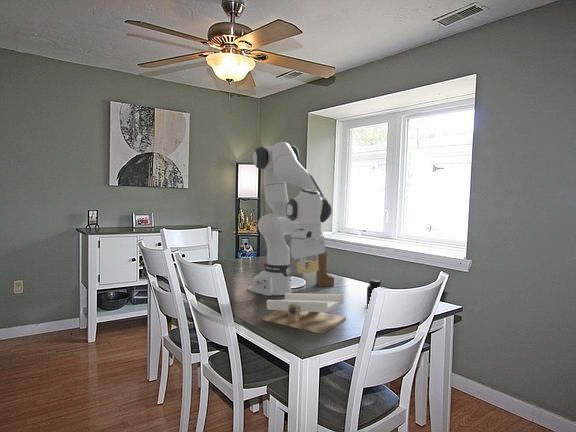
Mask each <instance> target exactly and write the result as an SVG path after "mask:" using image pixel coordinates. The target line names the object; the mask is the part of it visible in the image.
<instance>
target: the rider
mask: <svg viewBox="0 0 576 432" xmlns="http://www.w3.org/2000/svg"><path fill="white" fill-rule="evenodd" d="M305 263H306V264H307V269H301V264H300V261H298V262H296V269H297V274H306V273H307V274H308V273H314V272H315V273H316V272H317V271H318V270H319V265H318V260H312V259H310V260H309V259H308V260H307V259H306V260H305Z"/></svg>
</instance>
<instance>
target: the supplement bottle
mask: <svg viewBox="0 0 576 432" xmlns="http://www.w3.org/2000/svg"><path fill="white" fill-rule="evenodd" d="M381 282H382V281H381V280H380V279H377V278H376V279H375V278H372V279H369V282H368V284H369V285H367V288H366V307H367V308H368V304H369V301H370V297H371V293H372V290H373V289H374V288H377V287H381V288H383V287H382V283H381Z"/></svg>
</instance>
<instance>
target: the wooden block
mask: <svg viewBox="0 0 576 432" xmlns="http://www.w3.org/2000/svg"><path fill="white" fill-rule="evenodd" d="M327 257H328V253H327V252H326V250H325V251H324V253H322V254H318V259H317V260H318V265H319V270H318V271H315V273H316V274H315V275H316V277H315V284H316V286H317V287H334V286H335V277H334V276H332V275H329V274H328V273H327V261H328V260H327V259H328V258H327Z"/></svg>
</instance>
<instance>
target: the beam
mask: <svg viewBox="0 0 576 432" xmlns="http://www.w3.org/2000/svg"><path fill="white" fill-rule="evenodd" d="M290 304H292V305H297V306H300V310H299V311H307V312H323V313H328V312H331V311H333V310H334V309H335V308H338V307H340V306H341V305H343V304H344V296H343V294H339V293H337V294H336V293H331V294H330V293H301V292H300V293H294V292H292V293H285V295H284V298H283V299H278V300H277V299H267V300H266V309H267V310H270V311H271V310H272V311H278V310H287V311H288V305H290Z"/></svg>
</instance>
